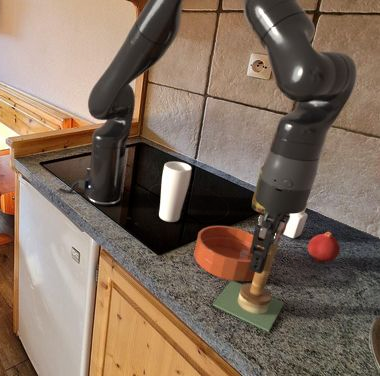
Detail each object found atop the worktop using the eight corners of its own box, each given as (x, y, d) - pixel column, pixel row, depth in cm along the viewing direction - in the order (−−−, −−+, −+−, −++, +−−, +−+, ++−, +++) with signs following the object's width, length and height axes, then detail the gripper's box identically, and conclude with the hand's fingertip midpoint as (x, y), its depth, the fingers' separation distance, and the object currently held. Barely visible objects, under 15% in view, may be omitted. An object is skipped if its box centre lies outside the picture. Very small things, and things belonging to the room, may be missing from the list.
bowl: (182, 263, 89) (187, 242, 87) (208, 239, 99) (212, 219, 97) (250, 293, 81) (256, 270, 79) (270, 262, 91) (277, 241, 88)
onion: (307, 251, 95) (318, 222, 92) (336, 262, 91) (348, 232, 88) (300, 261, 91) (311, 231, 88) (329, 273, 88) (342, 242, 84)
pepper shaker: (286, 228, 105) (296, 195, 101) (301, 235, 102) (313, 201, 98) (277, 232, 103) (287, 199, 99) (293, 239, 100) (304, 205, 96)
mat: (212, 305, 77) (212, 303, 77) (231, 281, 84) (231, 279, 84) (268, 332, 71) (269, 330, 71) (283, 304, 78) (284, 302, 78)
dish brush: (233, 304, 77) (251, 242, 71) (243, 291, 81) (260, 231, 75) (262, 318, 74) (283, 254, 68) (271, 304, 77) (291, 242, 71)
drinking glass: (179, 213, 111) (188, 162, 105) (184, 225, 105) (194, 172, 98) (154, 211, 111) (162, 160, 105) (157, 223, 105) (166, 170, 99)
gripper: (274, 161, 74) (251, 240, 81) (248, 185, 64) (225, 272, 71) (321, 173, 69) (293, 255, 76) (301, 200, 59) (271, 291, 67)
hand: (260, 263), depth 74 cm, fingers open, 5 cm apart
